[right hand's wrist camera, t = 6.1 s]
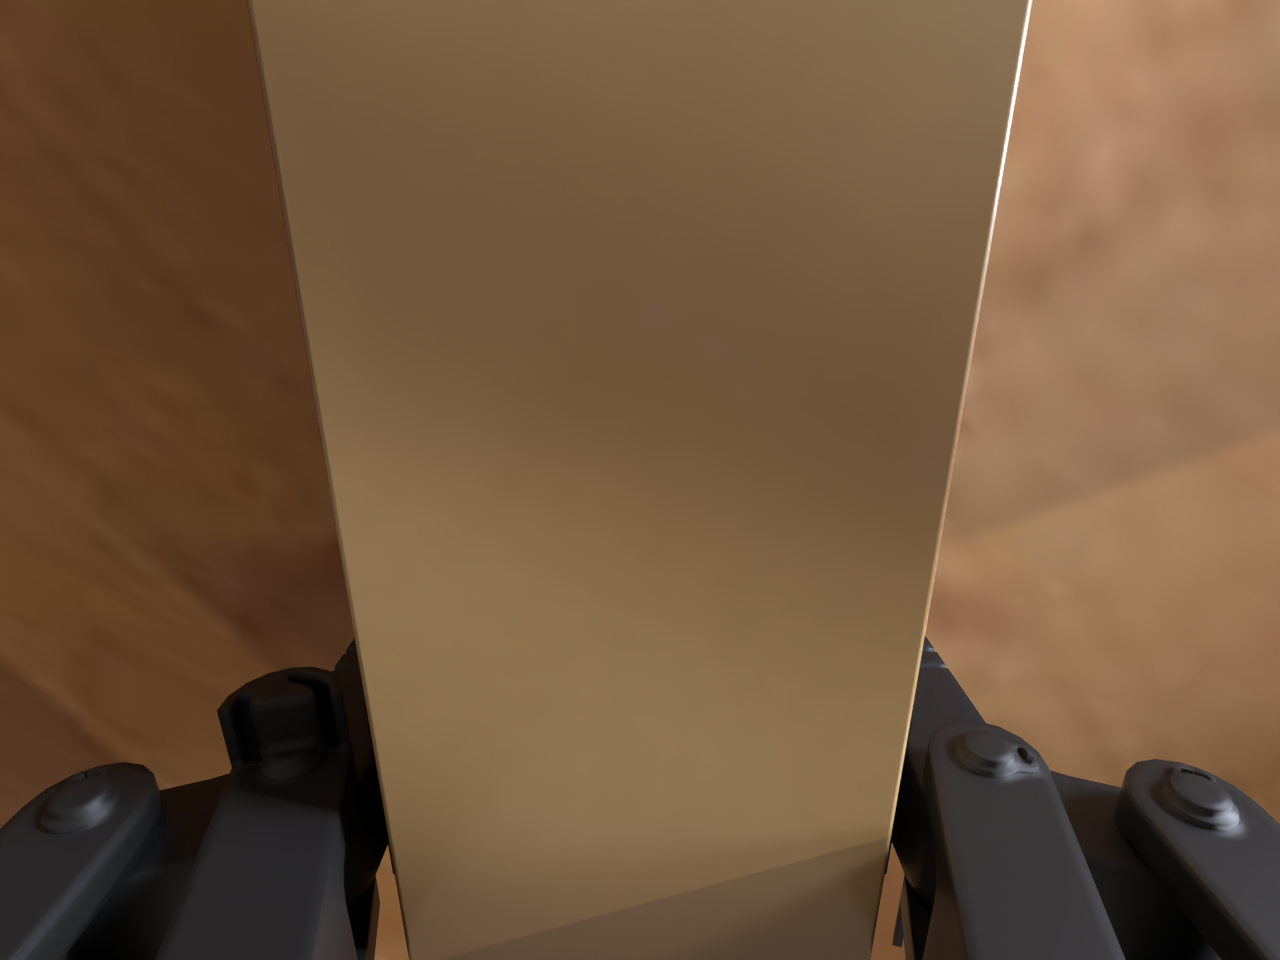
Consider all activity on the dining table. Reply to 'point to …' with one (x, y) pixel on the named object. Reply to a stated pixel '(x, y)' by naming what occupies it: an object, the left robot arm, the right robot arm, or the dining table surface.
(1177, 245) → the dining table surface
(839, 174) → the beam
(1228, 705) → the dining table surface
